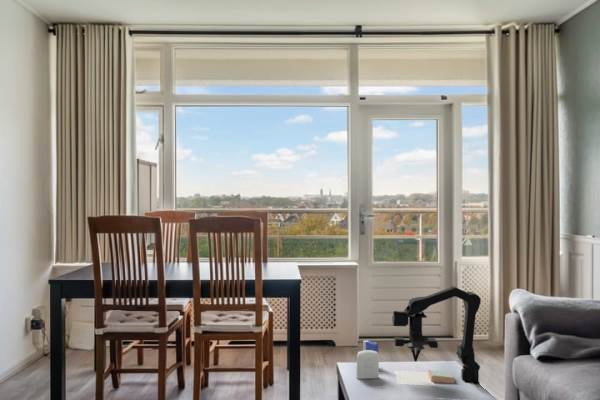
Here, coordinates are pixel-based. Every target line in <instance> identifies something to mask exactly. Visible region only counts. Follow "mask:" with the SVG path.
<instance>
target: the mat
mask: <svg viewBox="0 0 600 400" xmlns="http://www.w3.org/2000/svg"><path fill="white" fill-rule="evenodd" d="M428 373H429V371H427V372H426V371H406V370H394V374H395V377H396V381H397V385H408V386H409V385H410V386H414V385H415V386H426V387H427V386H429V387H430V386H431V387H436V384H435V382H431V380H430V378H429V376H428Z"/></svg>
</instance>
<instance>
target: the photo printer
mask: <svg viewBox="0 0 600 400" xmlns="http://www.w3.org/2000/svg"><path fill="white" fill-rule="evenodd" d="M379 359H380V357H379V351H378V352H376V351H372V350H364V351H363V350H361V351H358V352H357V354H356V378H357V379H358V380H359V379H360V380H365V379H366V380H368V379H379V370H380V369H379V368H380V366H379V365H380V363H379V361H380V360H379Z"/></svg>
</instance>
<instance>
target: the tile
mask: <svg viewBox="0 0 600 400" xmlns="http://www.w3.org/2000/svg"><path fill="white" fill-rule="evenodd" d="M428 372H429V373H428V376H429V378H430V380H431V382H434V383H446V384H447V383H448V384H455V377H454V375H453V374H452V372H450V371H438V370H430V369H429V370H428Z"/></svg>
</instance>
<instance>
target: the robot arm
mask: <svg viewBox="0 0 600 400" xmlns="http://www.w3.org/2000/svg"><path fill="white" fill-rule="evenodd" d="M455 297H456V298H458V299H460V300H462V301H463V307H464V312H465V313H464V320H463V321H464V322H463V332H462V341H461V344H457V345H456V346H457V347H456V349H457V350H456V352H455V354H456V355H457V358H458V360H459V361H460V362H461V363H462V369H460V371H461V374H460V375H461V376H460V377H461V380H462V381H463V382H464V383H468V384H475V385H476V384H477V385H480V384H481V382H480V380H479V377H480V376H479V375H480V373H479V371H480V369H481V366H480V364H479V363H478V362H477V361H476V359H475V351H474V346H473V344H474V337H475V335H474V334H475V324H476V315H477V312H478V311H479V309H480V306H481V303H482V298H481V297H480V295H478V294H476V293H474V292H472V291H465V290H463V289H460V288H458V287H456V286H455V285H454V286H450V287H449V288H446V289H442V290H440V291H436V292H434V293H432V294H428V295H426V296H418V297H417V296H416V297H412V298H410V299H409V300H408V305H407V306H406V307H405V309H404V310H403V311H401V310H400V311H399V310H393V312H392V327H407V326H408V325H409V326H408V330H409V331H408V337H409V338H408V339H404V337H403V336H394V338H393V343H394V346H395V347H404V346H405V344H406V347H407V348H408V349H410V351H411V354H412V357H413V360H414V362H417V361H418V359H419V355H420V353H421V351H422V350H425V346H429V348H430V349H438V348H439V347H438V346H439V344H438V341H437V339H435V338H432V337H431V338H429V337H428V336H425V335H423V318H425V319H426V318H428V316H427V315H426V314H425V313H424V311H426V310H427V309H428V308H429V307H430V306H432V305H435V304H438V303H441V302H443V301H446V300H449V299H451V298H455Z"/></svg>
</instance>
